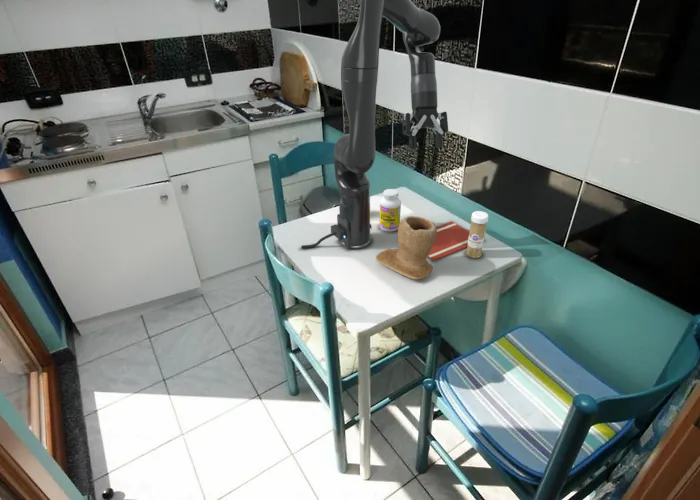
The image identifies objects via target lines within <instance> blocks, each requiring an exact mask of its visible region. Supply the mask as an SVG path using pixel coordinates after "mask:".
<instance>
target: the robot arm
mask: <svg viewBox="0 0 700 500" xmlns="http://www.w3.org/2000/svg"><path fill="white" fill-rule="evenodd" d="M359 2H360V7H359V15H358V19H357V23H356V26H355V28H354V30H353V32H352V34H351V36H350V38H349V40H348V42H347V43H346V46H345V48H344V50H343V53H342V55H341V62H340V63H341V66H340V88H341V94H342V98H343V103H344V105H345V108H346V112H347V117H348V124H349V133H346V134H343V135H341V136H340V137H339V138H338V139H337V140H336V142H335V144H334V147H333V166H334V167H333V169H334V176H335V182H336V185H337V188H338V205H339V207H338V209H339V213H337V215H336V221H337V223H335V224H333V225H330V233H329V234H327V235H324V236H323V237H321V238H319V239H318V240H317V242H316V243H312V244H305V245H304V244H303V245H301V247H300V248H301V249H311V248H315V247H317V246H319V245H320V244H321V243H322V242H324V241H325V240H326V239H329V238H331V237H333V236H334V237H335V238H336V239H337V241H338V242H339V243H340V244H341V245H342V246H343V247H344V248H345V249H347V250H351V249H353V250H355V249H356V250H357V249H362V248H366V247H367V246H368V245H370V243H371V231H372V228H373V227H372V226H373V225H372V223H371V183H370V180H369V178H368V177H367V173H368V172H369V171H370V170H371V169H372V167H373V165H374V163H375V159H376V124H375V123H376V107H377V106H376V104H377V101H376V100H377V89H378V76H379V64H380V63H379V62H380V61H379V60H380V59H379V58H380V44H381V32H382V24H383V23H382V22H383V18H385V19H386V20H387V21H388V22H389V23H390V24H391V25H392V26H394V27H395V28H396V29H397V30H398V31H400V33H402V40H403V43H404V46H405V48H406V51H407V52H406V53H407V55H408V59H409V64H410V99H411V101H410V102H411V110H412V112H411V113H410V112H405V113H404V114H402V135H403V136H407V137H408V143H409V145H408V146H409V148H410V149H411V151H413V150H417V149H418V145H417V136H416V135H417V133H418V132H419V130H420V129H430V130H431V131H433V133H434V134H435V136H434V141H435V142H434V144H435V149H441V148H442V146H443V144H444V143H443V141H444V140H443V136H444V134H445V133H448V132H449V123H448V112H447V111H441V112H438V83H437V77H436V59H435V55H434V54H433V53H432V52H421V50H420V47H423V46H425V45H430V44H433V43H435V42H436V41H437V40H439V37H440V35H441V25H440V21H439V20H438V18H437V17H436V16H435V15H434V14H433V13H431V12H429V11H427V10H425V9H423V8H419V7H418V6H417V5H416V4H415V3H414V2H413V1H412V0H359ZM438 120H439V122H438ZM411 121H413V124H412V125H411Z"/></svg>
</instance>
